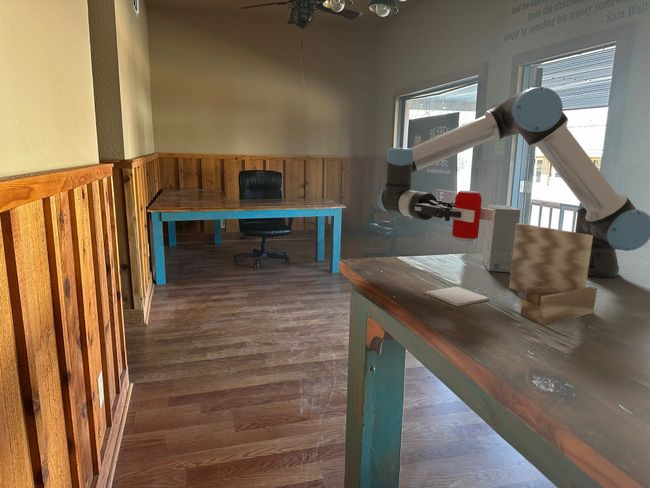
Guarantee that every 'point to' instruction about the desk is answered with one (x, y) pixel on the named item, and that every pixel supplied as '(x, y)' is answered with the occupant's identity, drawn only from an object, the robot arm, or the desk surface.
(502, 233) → the hard drive box
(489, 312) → the desk surface
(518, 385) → the desk surface
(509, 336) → the desk surface
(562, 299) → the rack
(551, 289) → the offcut upper
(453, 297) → the felt pad
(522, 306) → the offcut lower
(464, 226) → the beverage can
